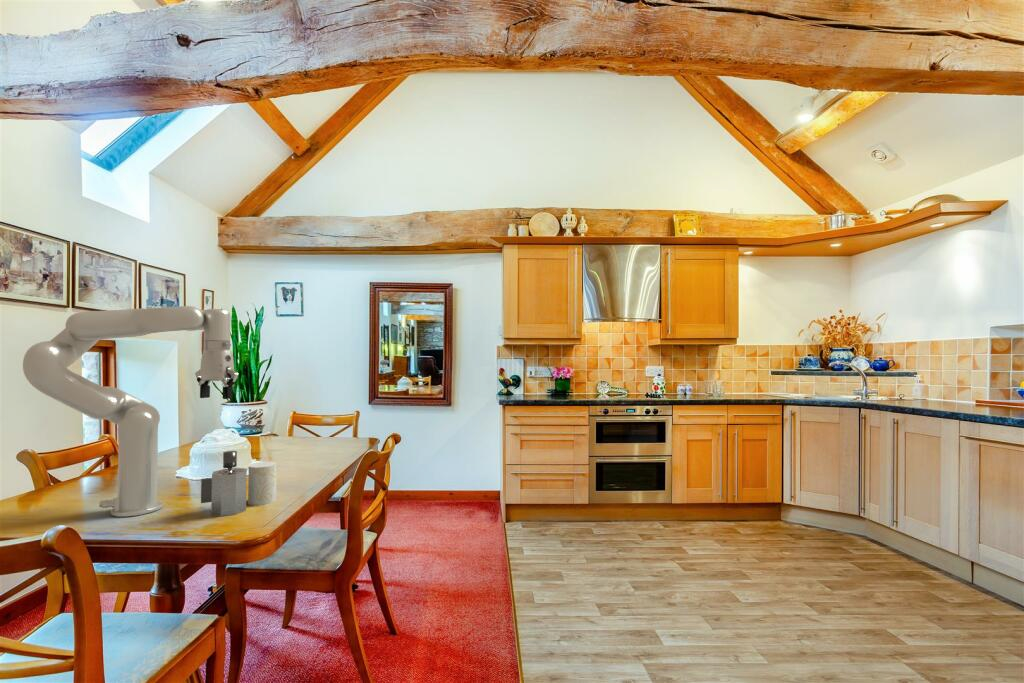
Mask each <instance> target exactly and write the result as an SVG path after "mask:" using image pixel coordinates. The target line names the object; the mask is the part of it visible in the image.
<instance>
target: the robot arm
mask: <svg viewBox="0 0 1024 683" xmlns="http://www.w3.org/2000/svg"><path fill="white" fill-rule="evenodd" d="M231 320H232V319H231V312H230V311H229V310H227V309H222V308H221V309H220V308H208V309H199V308H198V307H196V306H191V305H182V306H164V307H150V308H149V307H148V308H147V307H146V308H130V309H129V308H128V309H127V308H125V309H113V310H112V309H110V310H93V311H92V310H91V311H80V312H75V313H73V314H71V315H70V316H69V317H68V318H67V319H66V321H65V328H64V329H62V331H61V332H59V333H58V334H57V335H55V336H54V337H53V338H51V339H50V340H48V341H40V342H37V343H35V344H34V345H32V346H30V347H29V348H28V350H26V352H25V354H24V357H23V359H22V372H23V374H24V377H25V378H26V380H27V381H28V383H29V384H30V385H31V386H32V387H33V388H35V389H36V390H37V391H39V392H40V393H42V394H44V395H46V396H47V397H49V398H51V399H54V400H56V401H58V402H60V403H61V404H63V405H64V406H67V407H69V408H71V409H73V410H75V411H78V412H80V413H82V414H84V416H87V417H89V418H91V419H94V420H98V421H100V420H101V421H102V420H107V421H109V422H111V423H113V424H114V425H117V441H118V446H117V448H118V454H117V457H118V458H117V459H118V462H117V463H118V467H117V470H118V471H117V497H114V498H113V499H104V500H103V499H102V500H100V501H99V503H98V504H99V508H101V509H107V508H112V509H111V510H110V515H111V516H113V517H118V518H121V517H123V518H125V517H134V516H140V515H146V514H149V513H153V512H156V511H158V510H160V509H161V508H162V507H163V505H164V504H163V501H161V500H158V499H157V498H158V495H157V494H158V458H159V457H158V445H159V444H158V443H159V442H158V441H159V439H158V438H159V437H158V435H159V434H158V433H159V423H160V420H161V416H160V412H159V411H158V410H157V408H156V407H155V406H153V405H151V404H150V403H147V402H146V401H143V400H142V399H140V398H137V397H136V396H134V395H131V394H129V393H127V392H126V391H124V390H122V389H119V388H117V387H115V386H108V385H107V386H102V385H99V384H98V383H95V382H93V381H91V380H89V379H88V378H86V377H84V376H82V375H80V374H78V373H76V372H73V371H72V370H70V369H69V367H70V366H71V365H73V364H74V363H75V362H76V361H77V360H79V359H80V358H81V357H82V356H83V355H84V354H85V353H86V352H88V351H89V350H90V349H91V348H92V347H93V346H95V345H96V344H97V343H98V342H99V341H100V340H109V339H110V340H111V339H119V338H121V339H122V338H134V337H144V336H147V335H151V334H157V333H158V334H159V333H165V332H176V331H177V332H179V331H180V332H181V331H186V332H187V331H188V332H194V331H203V350H202V354H201V358H200V369H199V370H197V371H196V372H195V373H194V374H195V377H196V381H197V382H198V386H199V398H200V399H206V398H210V397H211V385H209V384H210V383H211V382H221V383H222V384H223V387H222V400H231V399H233V387H235V383H237V379H238V378H239V377H238V376H239V373H238V372H237V371H236V370H235V362H234V361H235V360H234V356H233V350H231V346H232V344H231Z"/></svg>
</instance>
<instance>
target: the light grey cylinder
mask: <svg viewBox="0 0 1024 683" xmlns="http://www.w3.org/2000/svg"><path fill="white" fill-rule="evenodd" d="M277 468H278V466H277V462H276V461H260V462H254V463H251V464H248V477H247V480H248V484H247V489H248V490H247V492H248V493H247V503H248V504H247V505H250V506H264V505H265V506H267V505H270V504H273V503H275V502H276V501H277V477H278V476H277V472H278V471H277Z"/></svg>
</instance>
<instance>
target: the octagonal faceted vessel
mask: <svg viewBox="0 0 1024 683" xmlns="http://www.w3.org/2000/svg"><path fill="white" fill-rule="evenodd" d="M247 474H248V472H247V468H244V467H233V468H232V472H231V473H228V468H223V469H222V468H221V469H219V470H215V471H213V472H212V473H211V477H206V478H201V480H200V482H201V484H200V504H207V503H211V506H210V508H211V511H210V512H211V513H210V514H211V516H216V517H226V516H233V515H234V516H235V515H237V514H240V513H241V514H242V513H243V512H245V511H246V510H247V480H248V477H247Z"/></svg>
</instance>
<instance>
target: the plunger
mask: <svg viewBox="0 0 1024 683" xmlns="http://www.w3.org/2000/svg"><path fill="white" fill-rule="evenodd" d="M237 455H238V451H237V450H227V451H226V450H225V451H224V452H223V455H222V468H223V469H228V473H231V472H232V468H237V467H238V466H237V465H238V463H237V462H238V456H237Z"/></svg>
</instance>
